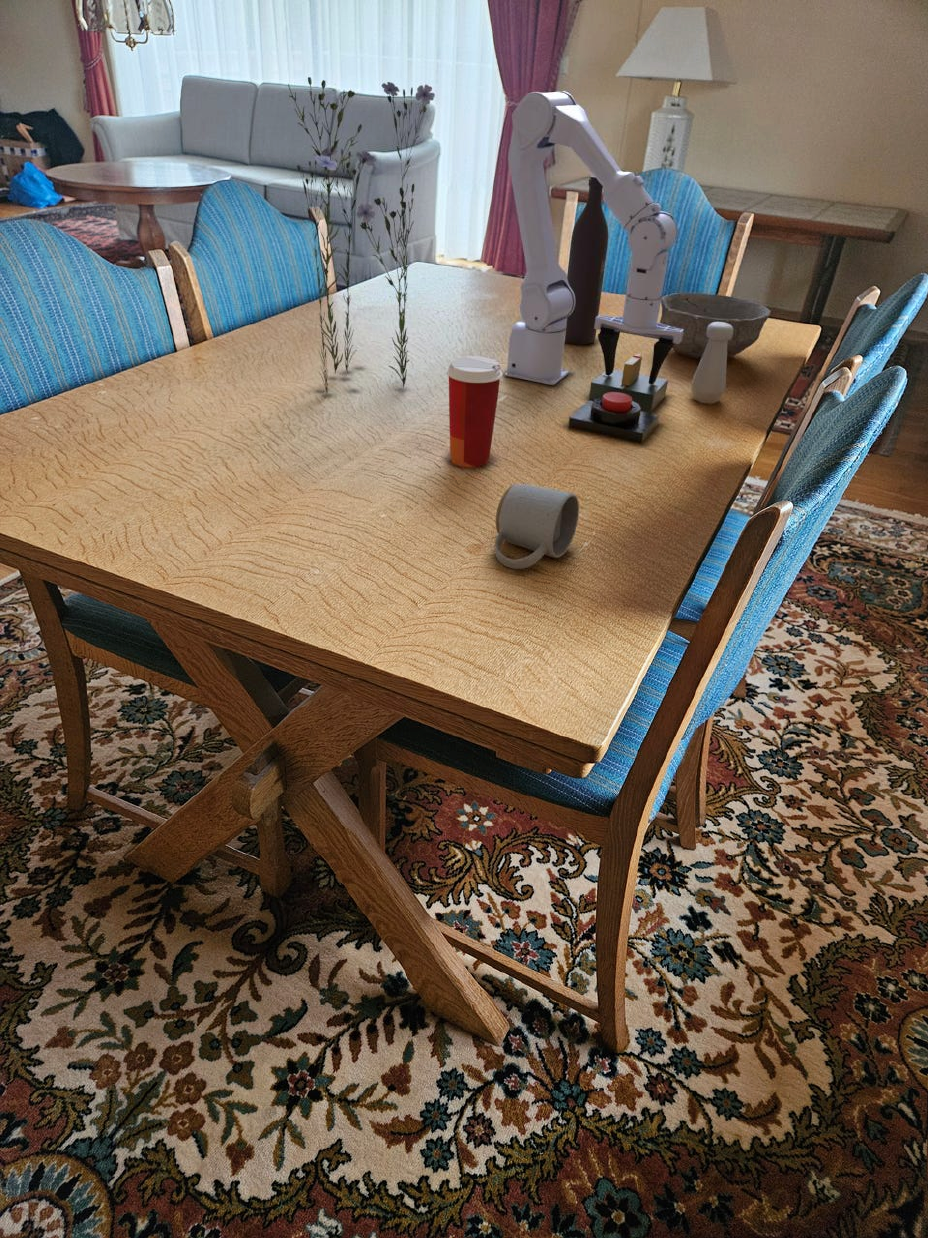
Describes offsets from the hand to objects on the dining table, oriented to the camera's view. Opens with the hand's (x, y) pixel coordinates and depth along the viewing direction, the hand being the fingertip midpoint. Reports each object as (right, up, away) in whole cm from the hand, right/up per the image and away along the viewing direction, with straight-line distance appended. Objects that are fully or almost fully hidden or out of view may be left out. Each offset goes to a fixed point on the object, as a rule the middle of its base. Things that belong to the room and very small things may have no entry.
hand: (630, 377), depth 147 cm
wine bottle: (-5, +16, +29) cm, 33 cm away
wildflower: (-45, -1, +2) cm, 45 cm away
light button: (-4, -8, -11) cm, 14 cm away
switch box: (-5, -10, -9) cm, 15 cm away
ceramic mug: (-20, -33, -44) cm, 58 cm away
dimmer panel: (0, -3, +2) cm, 3 cm away
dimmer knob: (0, 0, 0) cm, 0 cm away
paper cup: (-28, -18, -22) cm, 40 cm away
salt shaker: (+14, -3, +3) cm, 14 cm away
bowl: (+19, +11, +24) cm, 33 cm away
